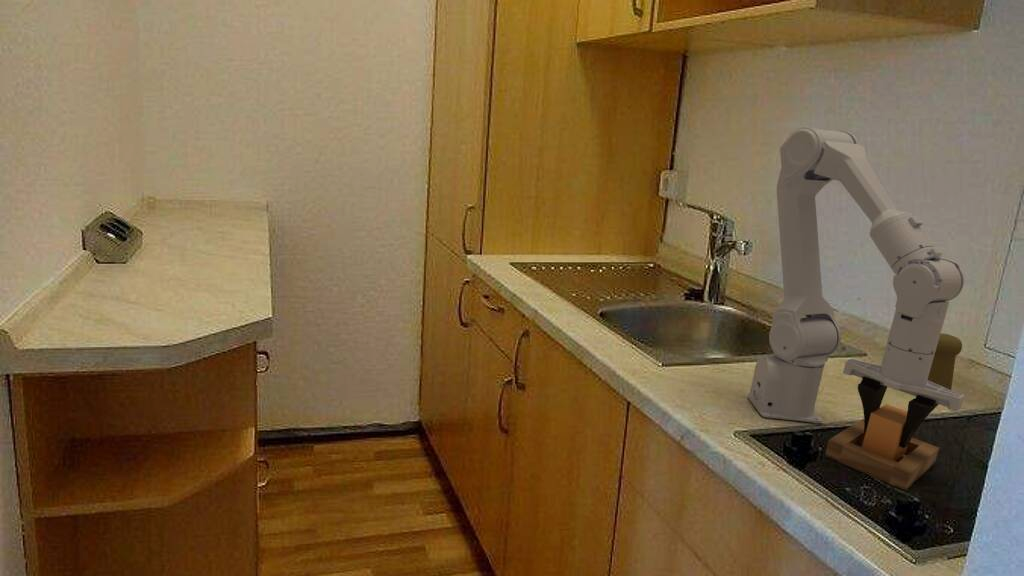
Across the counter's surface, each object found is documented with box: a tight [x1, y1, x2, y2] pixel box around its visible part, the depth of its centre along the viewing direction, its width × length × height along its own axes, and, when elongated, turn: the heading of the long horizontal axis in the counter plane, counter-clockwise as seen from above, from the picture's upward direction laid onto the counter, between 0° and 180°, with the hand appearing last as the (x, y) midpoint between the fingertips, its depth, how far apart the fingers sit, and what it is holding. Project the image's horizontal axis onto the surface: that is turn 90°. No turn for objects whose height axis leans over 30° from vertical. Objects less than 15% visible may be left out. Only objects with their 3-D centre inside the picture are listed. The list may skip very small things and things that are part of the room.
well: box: [824, 418, 940, 491], centre depth 98 cm, size 12×10×2 cm
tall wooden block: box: [862, 403, 908, 461], centre depth 97 cm, size 6×4×6 cm, turn 134°
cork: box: [927, 332, 963, 390], centre depth 126 cm, size 6×6×11 cm
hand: (885, 438), depth 97 cm, fingers closed on tall wooden block, 4 cm apart
